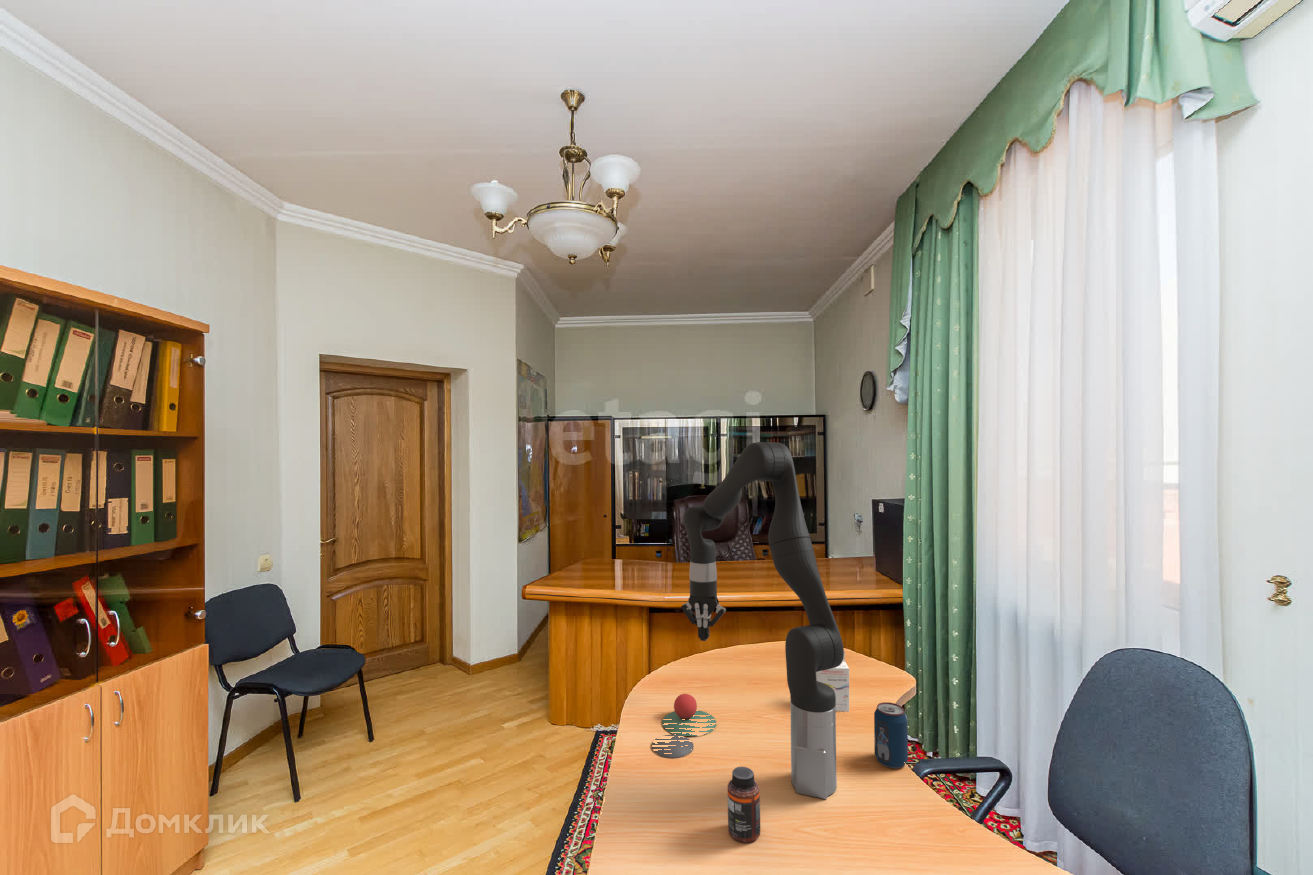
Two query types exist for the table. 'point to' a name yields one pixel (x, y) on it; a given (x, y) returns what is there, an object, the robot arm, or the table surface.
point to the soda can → (890, 735)
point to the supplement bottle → (743, 805)
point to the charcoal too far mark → (674, 747)
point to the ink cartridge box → (837, 683)
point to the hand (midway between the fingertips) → (703, 639)
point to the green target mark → (679, 720)
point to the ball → (685, 706)
